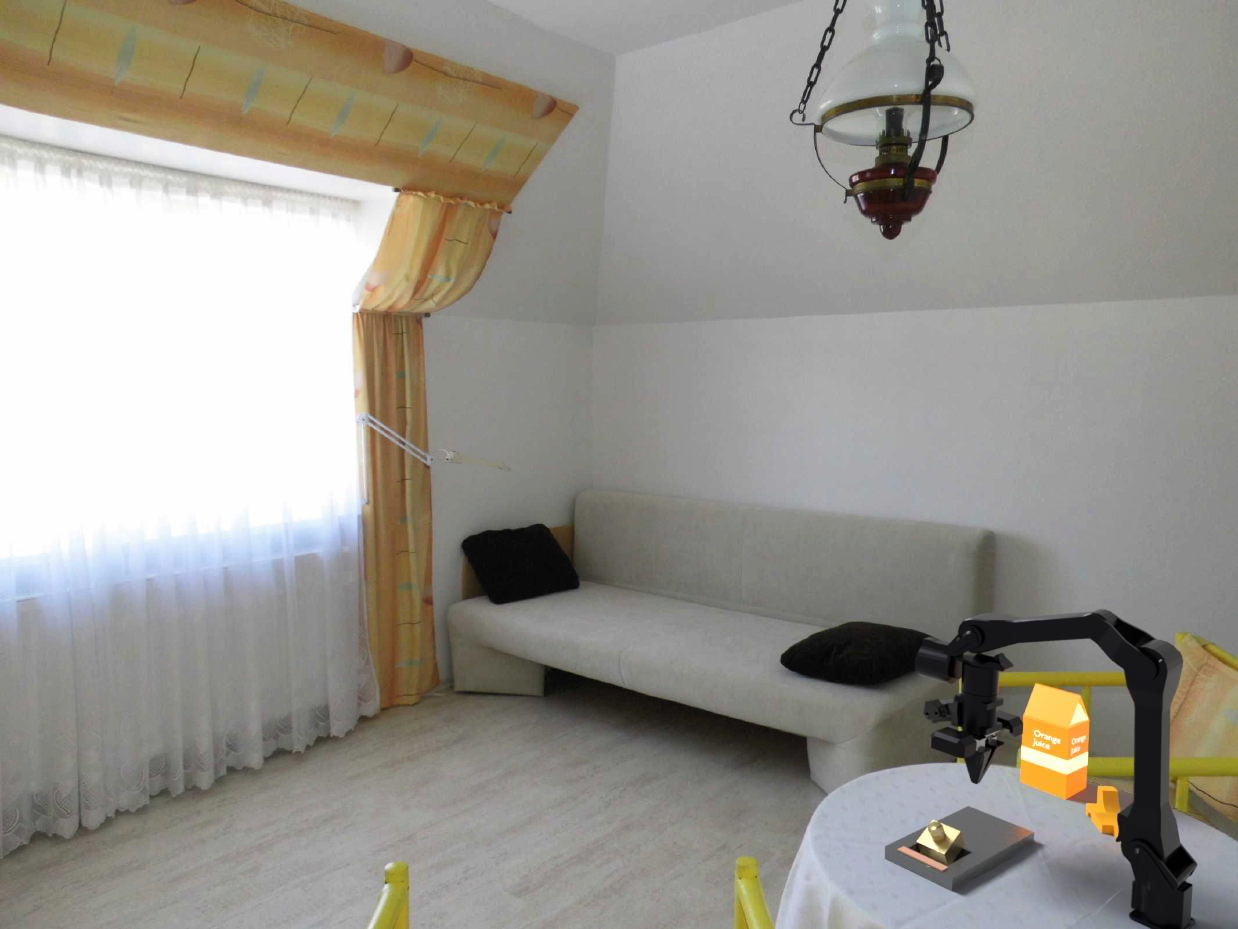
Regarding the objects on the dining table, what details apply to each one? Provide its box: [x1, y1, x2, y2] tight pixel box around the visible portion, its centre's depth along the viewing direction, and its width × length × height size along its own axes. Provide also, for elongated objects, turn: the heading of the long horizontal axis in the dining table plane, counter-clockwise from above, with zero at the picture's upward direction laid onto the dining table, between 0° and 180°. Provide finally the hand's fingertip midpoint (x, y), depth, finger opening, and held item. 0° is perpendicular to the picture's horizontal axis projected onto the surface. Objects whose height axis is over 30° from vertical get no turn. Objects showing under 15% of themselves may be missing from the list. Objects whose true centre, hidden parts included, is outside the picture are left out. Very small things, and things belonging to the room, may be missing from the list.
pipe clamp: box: [1085, 785, 1122, 844], centre depth 153 cm, size 12×4×6 cm, turn 175°
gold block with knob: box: [917, 819, 965, 866], centre depth 145 cm, size 5×5×5 cm
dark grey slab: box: [884, 805, 1035, 892], centre depth 148 cm, size 12×24×2 cm, turn 128°
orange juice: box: [1019, 682, 1091, 801], centre depth 169 cm, size 8×9×20 cm
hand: (975, 782), depth 149 cm, fingers closed
